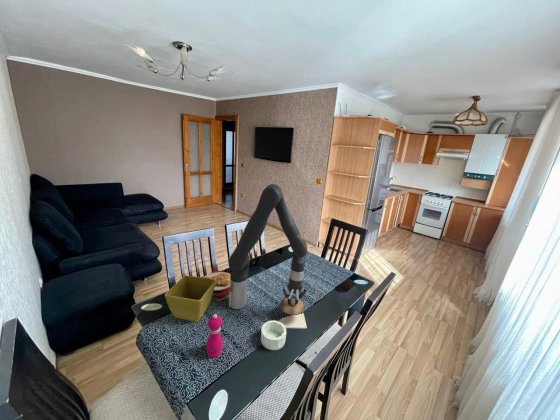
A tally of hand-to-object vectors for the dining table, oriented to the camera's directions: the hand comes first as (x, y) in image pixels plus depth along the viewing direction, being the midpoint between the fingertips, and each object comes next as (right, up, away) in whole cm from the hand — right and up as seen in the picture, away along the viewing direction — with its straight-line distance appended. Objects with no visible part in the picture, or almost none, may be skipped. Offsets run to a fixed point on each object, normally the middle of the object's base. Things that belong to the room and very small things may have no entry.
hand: (292, 303), depth 124 cm
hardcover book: (-46, -1, +19) cm, 50 cm away
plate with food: (-41, -3, +23) cm, 47 cm away
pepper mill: (-37, -13, -22) cm, 45 cm away
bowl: (-10, -12, -13) cm, 21 cm away
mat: (0, -9, +2) cm, 9 cm away
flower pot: (-55, -5, -1) cm, 56 cm away
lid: (0, -2, 0) cm, 2 cm away
